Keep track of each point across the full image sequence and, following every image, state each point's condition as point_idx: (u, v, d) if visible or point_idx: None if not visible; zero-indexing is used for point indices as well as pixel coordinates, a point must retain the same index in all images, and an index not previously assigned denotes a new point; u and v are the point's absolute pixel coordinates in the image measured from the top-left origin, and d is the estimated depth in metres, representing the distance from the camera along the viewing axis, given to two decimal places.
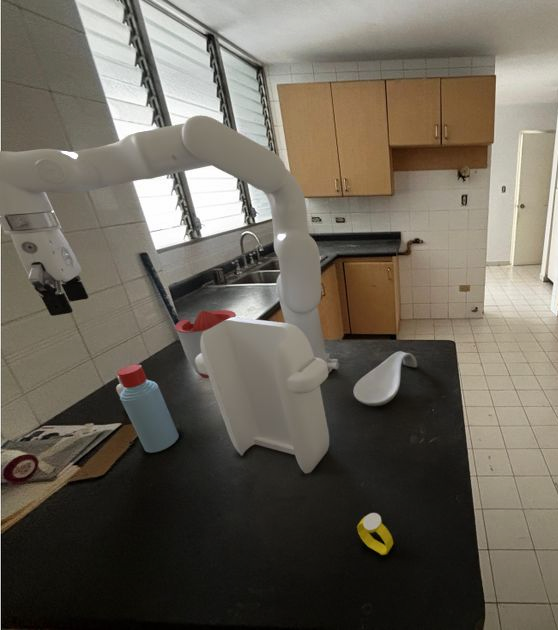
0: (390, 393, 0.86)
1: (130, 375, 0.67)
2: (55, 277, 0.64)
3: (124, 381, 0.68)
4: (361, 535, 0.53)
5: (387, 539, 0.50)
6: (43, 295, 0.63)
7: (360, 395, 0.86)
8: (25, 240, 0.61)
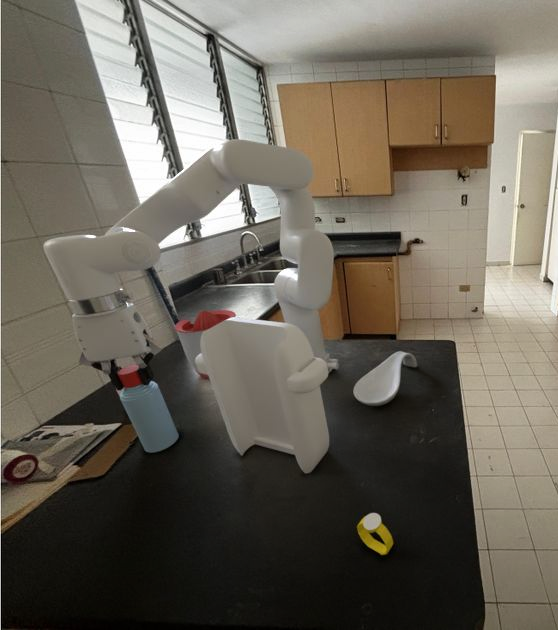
0: (390, 393, 0.86)
1: (130, 375, 0.67)
2: None
3: (124, 381, 0.68)
4: (361, 535, 0.53)
5: (387, 539, 0.50)
6: None
7: (360, 395, 0.86)
8: (133, 311, 0.65)
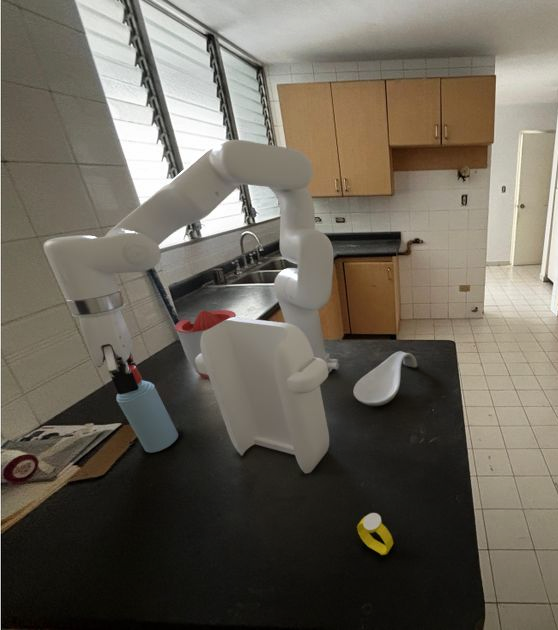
0: (390, 393, 0.86)
1: None
2: None
3: (137, 375, 0.69)
4: (361, 535, 0.53)
5: (387, 539, 0.50)
6: None
7: (360, 395, 0.86)
8: None
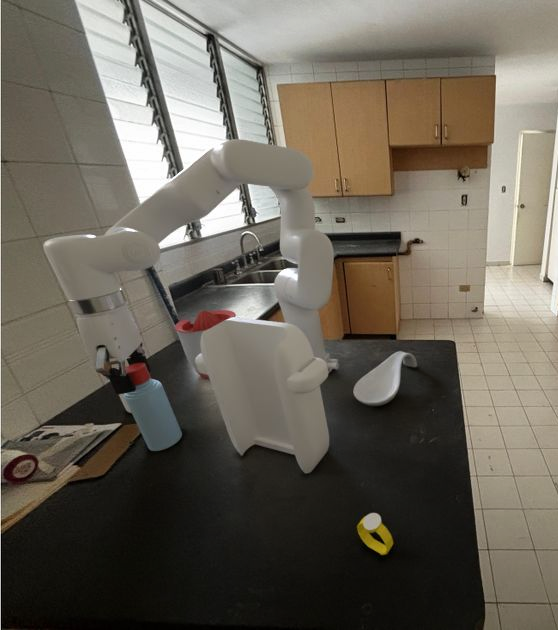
0: (390, 393, 0.86)
1: (145, 365, 0.71)
2: None
3: (146, 373, 0.70)
4: (361, 535, 0.53)
5: (387, 539, 0.50)
6: None
7: (360, 395, 0.86)
8: None
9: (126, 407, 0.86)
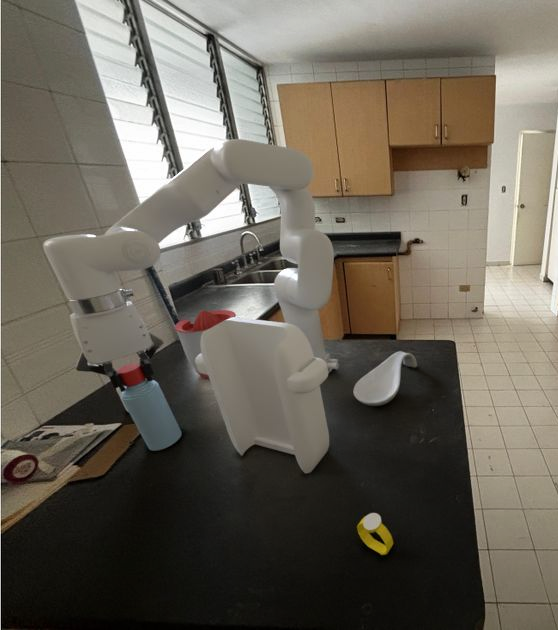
0: (390, 393, 0.86)
1: None
2: None
3: (143, 371, 0.70)
4: (361, 535, 0.53)
5: (387, 539, 0.50)
6: None
7: (360, 395, 0.86)
8: None
9: None
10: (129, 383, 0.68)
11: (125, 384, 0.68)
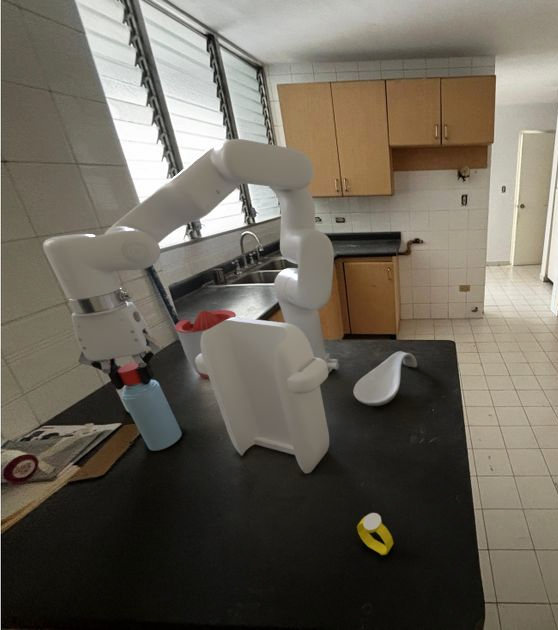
0: (390, 393, 0.86)
1: None
2: None
3: None
4: (361, 535, 0.53)
5: (387, 539, 0.50)
6: None
7: (360, 395, 0.86)
8: (133, 311, 0.65)
9: (126, 407, 0.86)
10: None
11: (140, 379, 0.69)
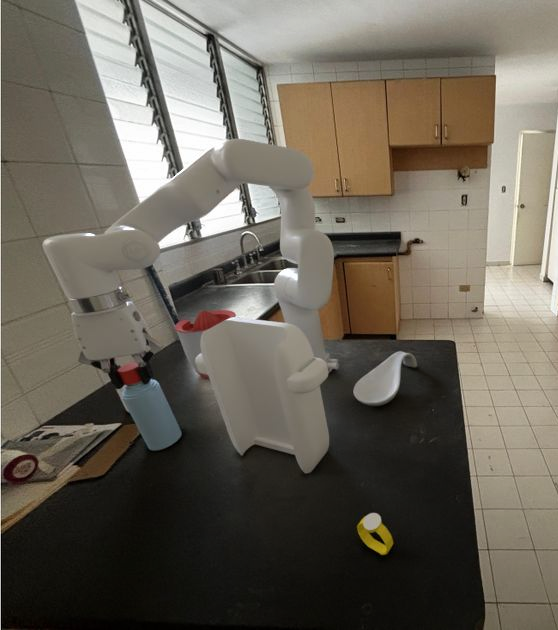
0: (390, 393, 0.86)
1: (122, 374, 0.67)
2: None
3: None
4: (361, 535, 0.53)
5: (387, 539, 0.50)
6: None
7: (360, 395, 0.86)
8: (133, 310, 0.65)
9: (126, 407, 0.86)
10: None
11: None
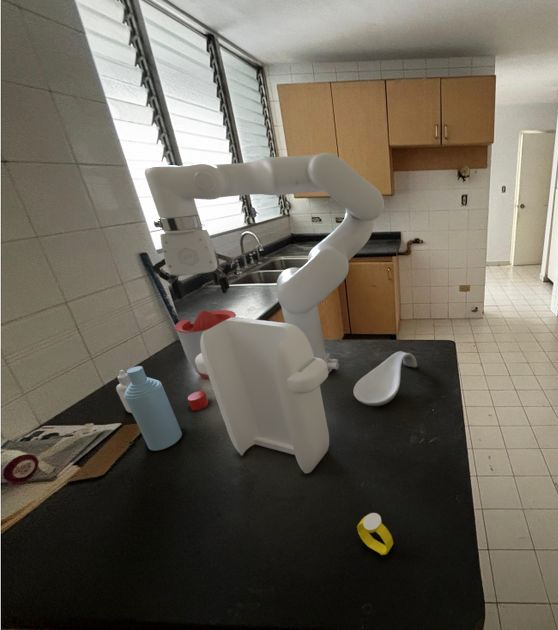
0: (390, 393, 0.86)
1: None
2: None
3: (206, 397, 0.89)
4: (361, 535, 0.53)
5: (387, 539, 0.50)
6: None
7: (360, 395, 0.86)
8: None
9: (126, 407, 0.86)
10: (197, 407, 0.86)
11: (194, 408, 0.86)
